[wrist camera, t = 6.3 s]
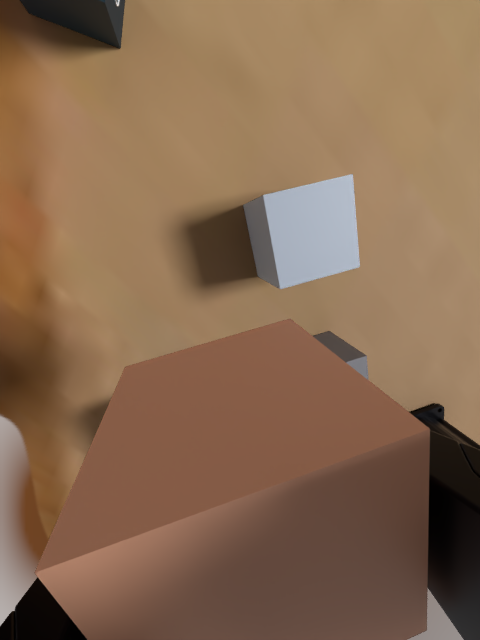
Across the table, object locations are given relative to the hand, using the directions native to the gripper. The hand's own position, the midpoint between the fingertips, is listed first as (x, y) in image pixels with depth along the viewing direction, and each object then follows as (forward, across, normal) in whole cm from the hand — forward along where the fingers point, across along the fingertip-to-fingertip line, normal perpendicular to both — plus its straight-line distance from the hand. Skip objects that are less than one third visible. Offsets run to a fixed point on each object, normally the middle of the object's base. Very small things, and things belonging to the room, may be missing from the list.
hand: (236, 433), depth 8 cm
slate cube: (+13, -7, -4) cm, 15 cm away
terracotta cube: (+1, 0, 0) cm, 1 cm away
